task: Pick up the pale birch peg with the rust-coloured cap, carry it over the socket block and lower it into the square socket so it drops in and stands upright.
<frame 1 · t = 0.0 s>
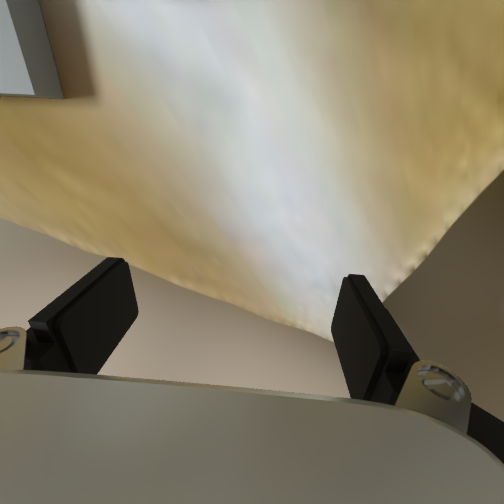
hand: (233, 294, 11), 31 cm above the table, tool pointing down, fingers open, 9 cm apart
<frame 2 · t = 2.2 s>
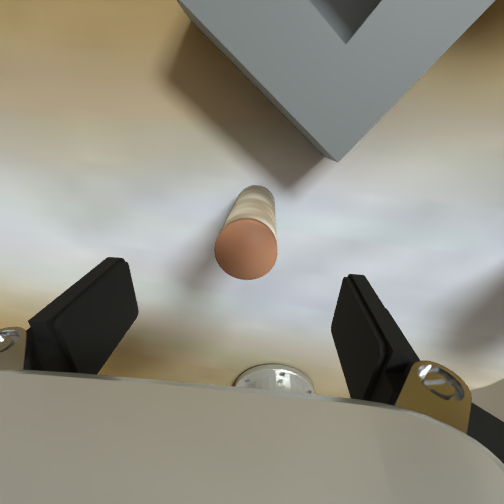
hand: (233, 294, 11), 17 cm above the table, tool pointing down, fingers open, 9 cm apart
birch peg: (255, 204, 26), on the table
socket block: (332, 1, 19), on the table
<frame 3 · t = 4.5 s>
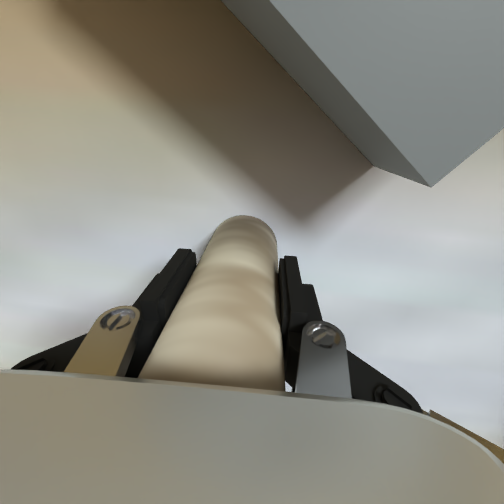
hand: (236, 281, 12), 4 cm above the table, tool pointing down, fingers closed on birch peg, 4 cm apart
birch peg: (244, 246, 15), on the table, touching gripper
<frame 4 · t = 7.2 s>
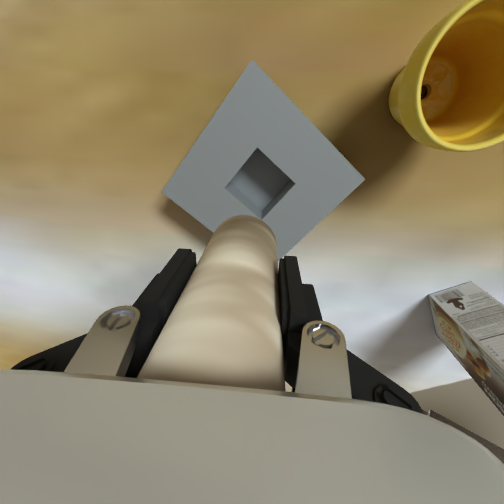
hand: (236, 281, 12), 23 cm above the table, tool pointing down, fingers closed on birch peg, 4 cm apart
plant pot: (418, 94, 27), on the table
coffee box: (451, 308, 39), on the table
birch peg: (244, 246, 15), point 19 cm above the table, touching gripper
socket block: (261, 178, 32), on the table
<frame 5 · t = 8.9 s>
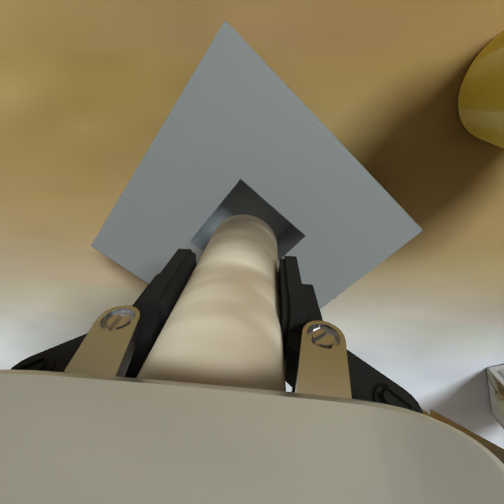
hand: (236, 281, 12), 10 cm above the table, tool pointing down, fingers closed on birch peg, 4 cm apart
birch peg: (244, 245, 15), point 7 cm above the table, touching gripper
socket block: (251, 215, 21), on the table
when the fingers open (7 cm above the table, at t = 10.3 s): birch peg drops 2 cm, resting on socket block.
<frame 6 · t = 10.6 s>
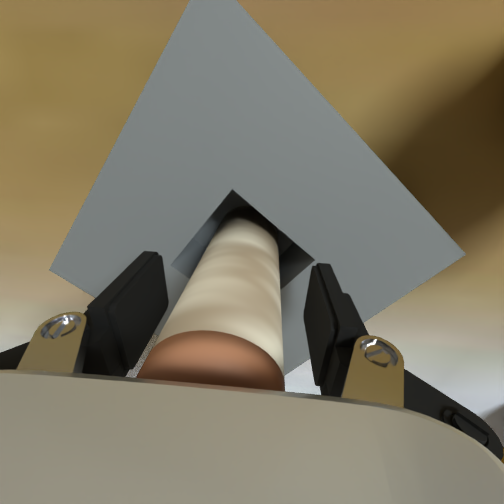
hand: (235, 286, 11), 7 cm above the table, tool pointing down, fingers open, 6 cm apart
birch peg: (248, 234, 17), point 1 cm above the table, touching socket block
socket block: (248, 228, 18), on the table
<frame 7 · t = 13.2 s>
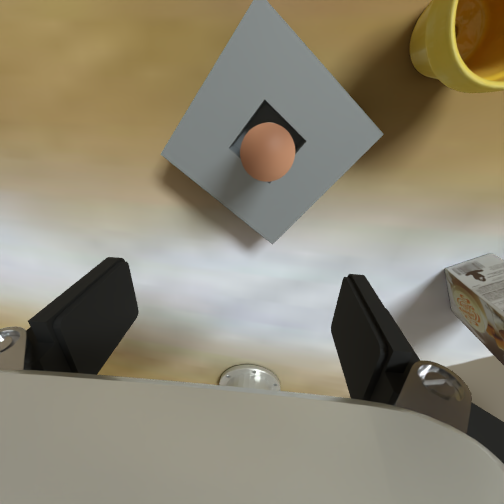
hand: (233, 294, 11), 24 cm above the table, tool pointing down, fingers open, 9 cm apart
plant pot: (442, 38, 24), on the table
coffee box: (469, 282, 37), on the table
birch peg: (268, 141, 28), point 1 cm above the table, touching socket block
socket block: (267, 141, 29), on the table
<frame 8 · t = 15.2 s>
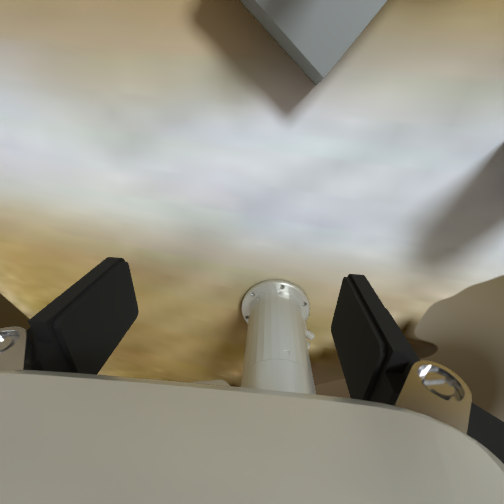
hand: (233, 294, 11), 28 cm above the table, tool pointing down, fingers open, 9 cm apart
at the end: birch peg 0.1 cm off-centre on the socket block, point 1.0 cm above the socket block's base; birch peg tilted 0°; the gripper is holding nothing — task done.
